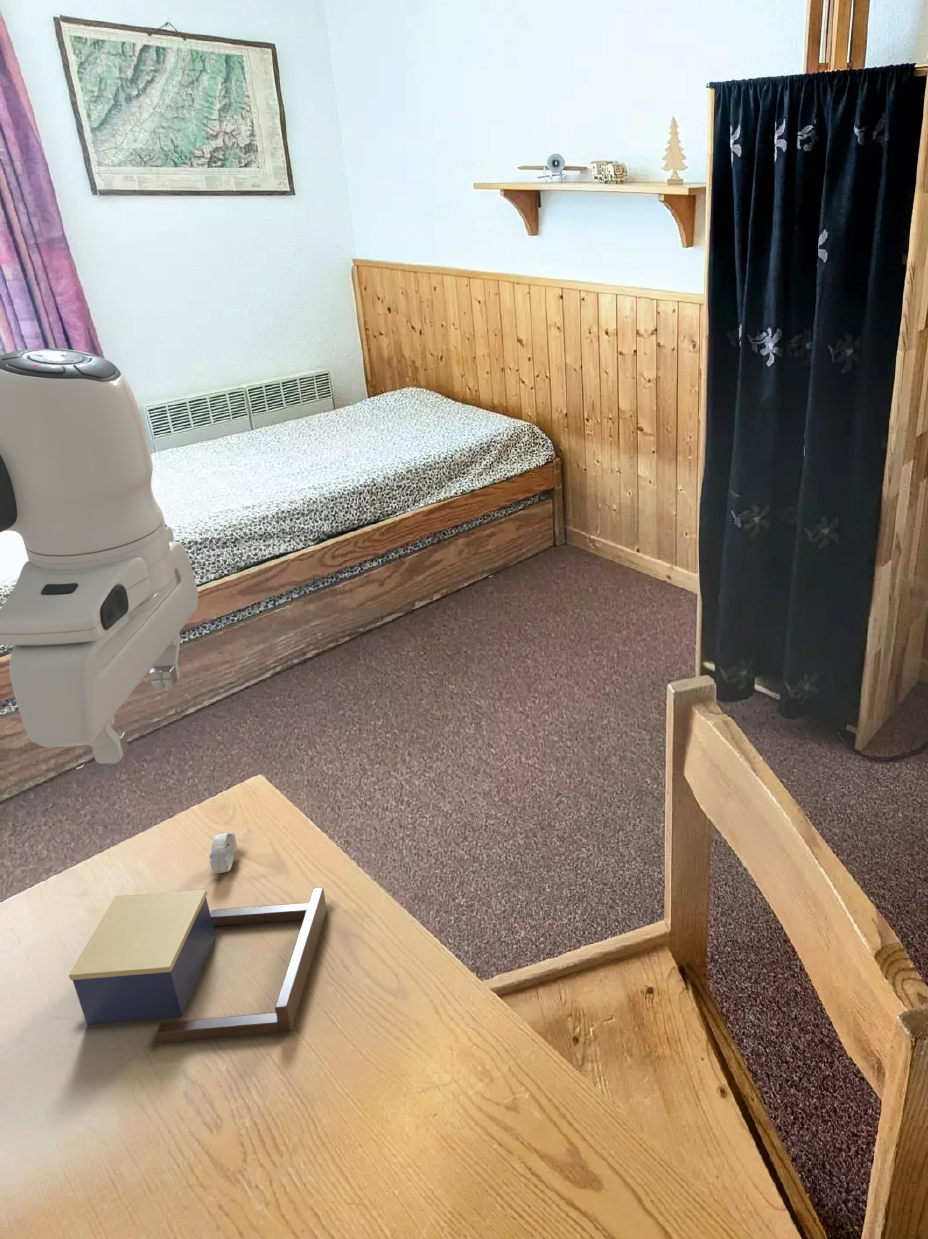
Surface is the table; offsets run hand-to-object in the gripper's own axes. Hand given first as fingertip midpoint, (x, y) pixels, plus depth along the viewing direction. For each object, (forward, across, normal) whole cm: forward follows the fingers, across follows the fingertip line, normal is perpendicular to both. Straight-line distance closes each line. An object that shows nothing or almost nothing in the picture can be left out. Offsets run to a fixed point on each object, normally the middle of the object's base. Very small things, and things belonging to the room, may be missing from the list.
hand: (141, 718), depth 67 cm
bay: (+28, 0, +4) cm, 29 cm away
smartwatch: (+29, -13, -2) cm, 31 cm away
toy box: (+28, 0, -4) cm, 29 cm away
